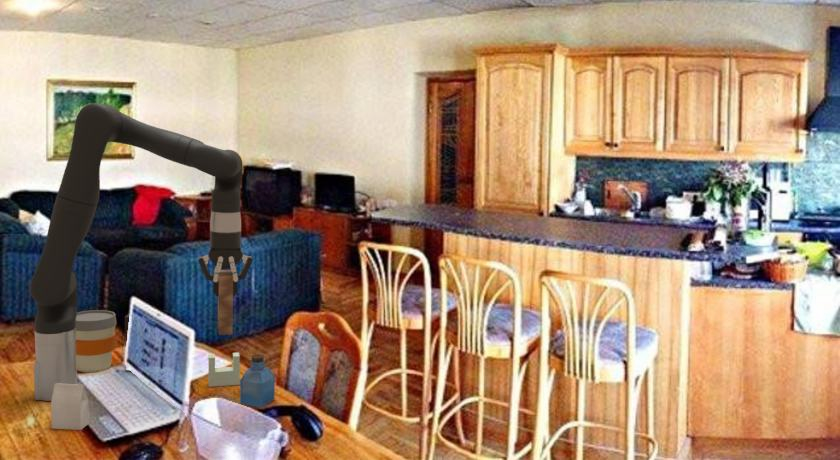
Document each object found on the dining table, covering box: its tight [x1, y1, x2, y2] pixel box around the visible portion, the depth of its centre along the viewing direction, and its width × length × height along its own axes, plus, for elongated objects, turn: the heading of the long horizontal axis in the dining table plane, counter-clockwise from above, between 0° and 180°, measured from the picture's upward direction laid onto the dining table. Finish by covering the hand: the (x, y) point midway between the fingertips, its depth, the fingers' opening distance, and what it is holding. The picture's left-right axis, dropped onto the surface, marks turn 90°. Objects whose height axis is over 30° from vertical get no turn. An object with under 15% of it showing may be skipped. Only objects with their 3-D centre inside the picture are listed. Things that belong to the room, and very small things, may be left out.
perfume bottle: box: [239, 353, 276, 408], centre depth 184 cm, size 6×6×12 cm
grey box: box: [50, 383, 90, 431], centre depth 165 cm, size 4×7×10 cm, turn 88°
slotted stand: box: [207, 352, 241, 388], centre depth 196 cm, size 8×3×8 cm, turn 108°
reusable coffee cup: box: [75, 309, 118, 373], centre depth 204 cm, size 13×13×15 cm
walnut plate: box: [217, 269, 234, 336], centre depth 185 cm, size 3×8×15 cm, turn 18°
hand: (225, 295), depth 185 cm, fingers closed on walnut plate, 3 cm apart
